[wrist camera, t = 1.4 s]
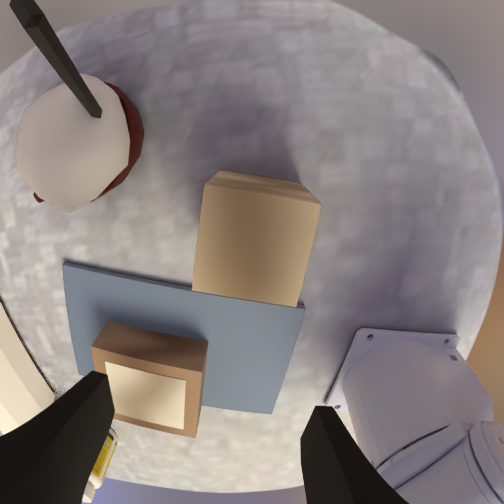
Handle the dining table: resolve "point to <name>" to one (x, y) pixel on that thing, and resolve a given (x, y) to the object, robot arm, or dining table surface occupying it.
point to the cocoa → (73, 127)
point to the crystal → (18, 381)
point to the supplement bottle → (100, 467)
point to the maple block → (254, 238)
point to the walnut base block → (152, 377)
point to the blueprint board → (190, 331)
